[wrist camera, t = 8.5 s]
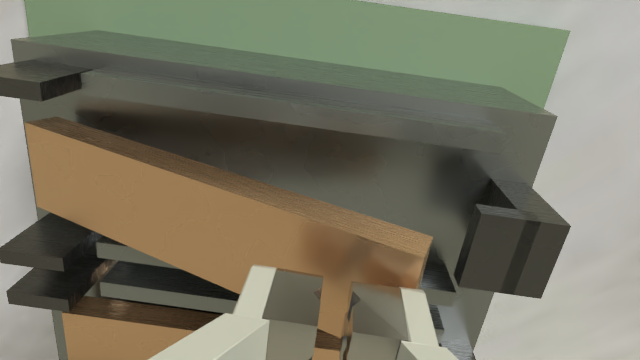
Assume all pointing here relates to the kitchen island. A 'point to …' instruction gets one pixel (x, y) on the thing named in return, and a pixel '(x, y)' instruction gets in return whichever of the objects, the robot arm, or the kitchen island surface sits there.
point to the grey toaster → (295, 166)
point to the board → (332, 35)
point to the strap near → (215, 216)
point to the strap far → (144, 330)
